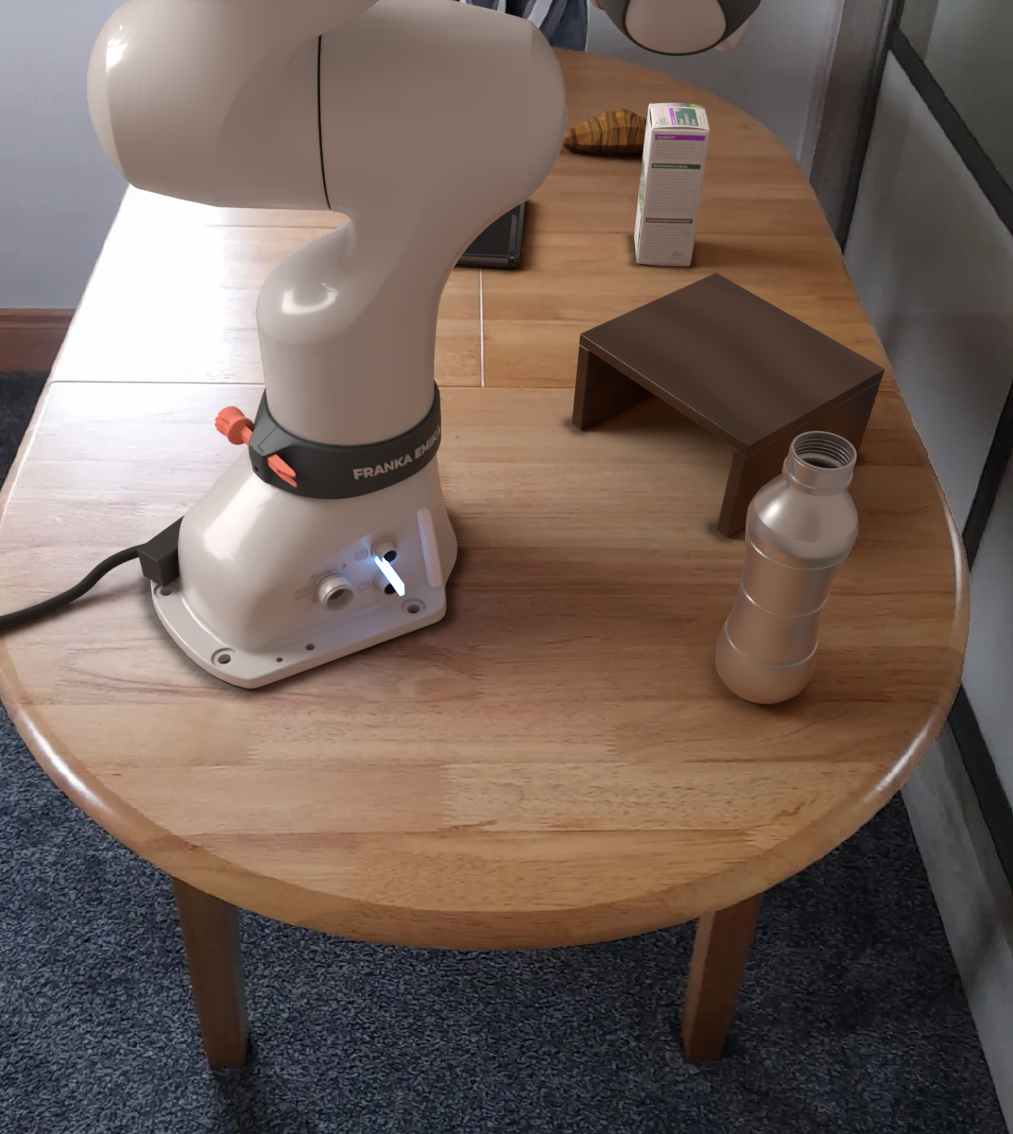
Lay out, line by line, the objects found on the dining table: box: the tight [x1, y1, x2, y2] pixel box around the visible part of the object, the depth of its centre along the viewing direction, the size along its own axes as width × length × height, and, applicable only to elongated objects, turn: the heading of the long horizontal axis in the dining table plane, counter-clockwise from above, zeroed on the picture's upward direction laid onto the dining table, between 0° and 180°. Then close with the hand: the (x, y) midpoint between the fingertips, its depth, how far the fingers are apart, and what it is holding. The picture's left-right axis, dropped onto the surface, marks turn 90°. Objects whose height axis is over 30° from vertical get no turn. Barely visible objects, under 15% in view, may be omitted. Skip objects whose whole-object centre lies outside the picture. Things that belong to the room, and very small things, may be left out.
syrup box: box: [633, 102, 711, 267], centre depth 116 cm, size 6×6×14 cm
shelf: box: [571, 272, 886, 538], centre depth 95 cm, size 16×18×9 cm
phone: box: [455, 201, 526, 269], centre depth 122 cm, size 8×1×15 cm
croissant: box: [562, 107, 647, 156], centre depth 136 cm, size 14×7×5 cm, turn 98°
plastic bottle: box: [714, 431, 859, 705], centre depth 72 cm, size 6×7×20 cm
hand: (654, 21), depth 96 cm, fingers open, 8 cm apart
